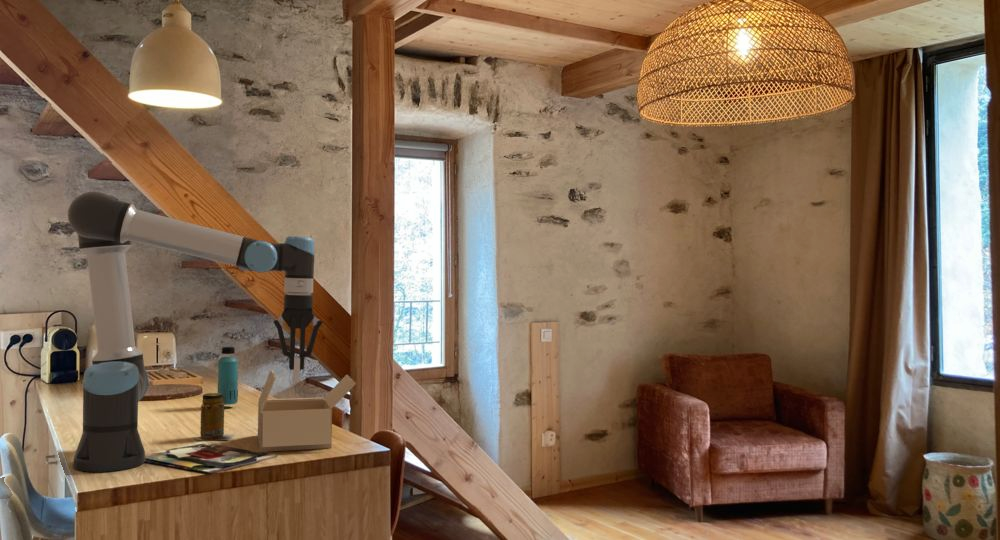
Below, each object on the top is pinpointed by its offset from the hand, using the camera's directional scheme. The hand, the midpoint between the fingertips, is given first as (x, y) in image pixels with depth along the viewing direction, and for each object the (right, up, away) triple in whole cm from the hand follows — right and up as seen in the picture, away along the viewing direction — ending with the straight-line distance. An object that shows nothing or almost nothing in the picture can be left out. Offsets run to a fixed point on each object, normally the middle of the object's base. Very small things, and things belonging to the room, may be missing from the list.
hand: (296, 381), depth 210 cm
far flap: (-3, -6, +8) cm, 10 cm away
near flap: (+2, -6, -8) cm, 10 cm away
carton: (-1, -16, 0) cm, 16 cm away
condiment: (-23, -16, +4) cm, 28 cm away
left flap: (-9, -6, -3) cm, 11 cm away
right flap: (+8, -6, +3) cm, 10 cm away
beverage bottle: (-35, -16, +47) cm, 61 cm away
